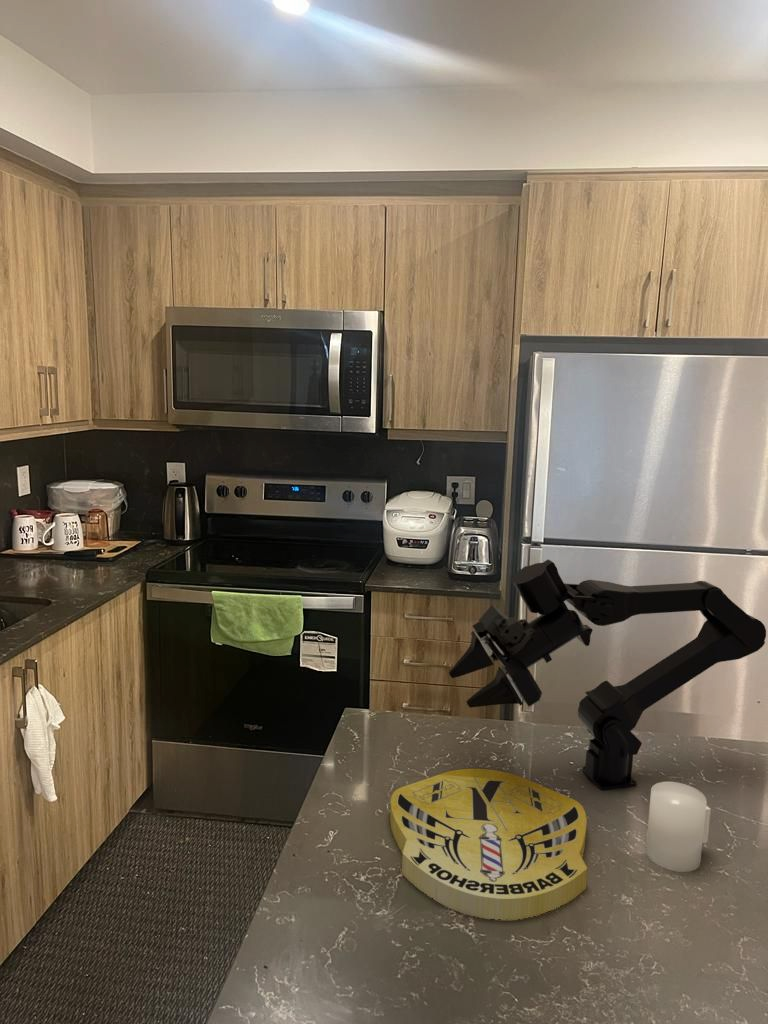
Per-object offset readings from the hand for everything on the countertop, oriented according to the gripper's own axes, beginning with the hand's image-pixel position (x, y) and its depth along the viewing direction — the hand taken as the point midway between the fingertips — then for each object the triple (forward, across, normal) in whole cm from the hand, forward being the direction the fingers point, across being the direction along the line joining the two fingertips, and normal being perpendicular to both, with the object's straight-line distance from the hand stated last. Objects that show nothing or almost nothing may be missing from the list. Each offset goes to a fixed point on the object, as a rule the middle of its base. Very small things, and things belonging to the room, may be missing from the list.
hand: (458, 689), depth 115 cm
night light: (-13, +23, +26) cm, 37 cm away
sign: (+8, +16, +14) cm, 22 cm away
